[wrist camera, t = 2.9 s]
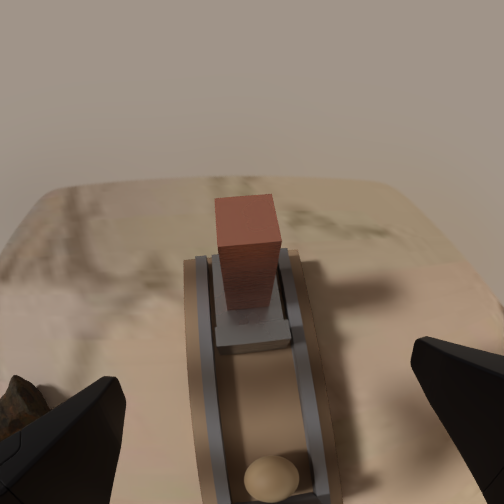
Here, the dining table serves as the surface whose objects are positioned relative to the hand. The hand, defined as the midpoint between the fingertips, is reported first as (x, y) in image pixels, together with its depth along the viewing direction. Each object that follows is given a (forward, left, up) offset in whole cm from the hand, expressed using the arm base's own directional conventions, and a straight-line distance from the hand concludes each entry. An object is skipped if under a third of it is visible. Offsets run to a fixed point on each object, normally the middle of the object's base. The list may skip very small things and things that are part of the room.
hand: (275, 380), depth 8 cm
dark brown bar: (+10, +23, -14) cm, 29 cm away
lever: (+5, -4, -11) cm, 13 cm away
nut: (-4, +3, -11) cm, 13 cm away
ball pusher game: (+1, -1, -13) cm, 14 cm away
